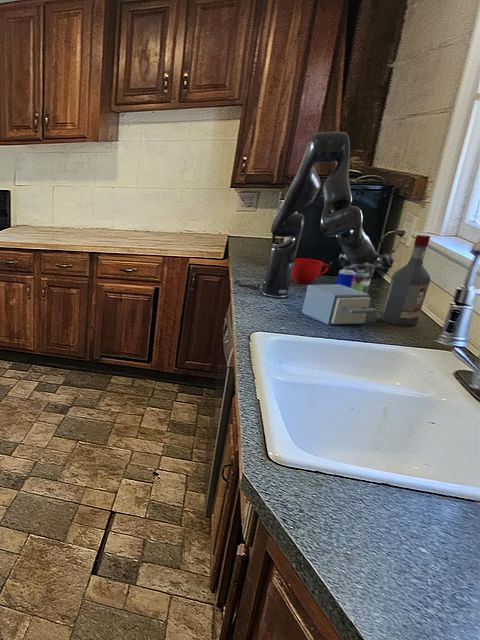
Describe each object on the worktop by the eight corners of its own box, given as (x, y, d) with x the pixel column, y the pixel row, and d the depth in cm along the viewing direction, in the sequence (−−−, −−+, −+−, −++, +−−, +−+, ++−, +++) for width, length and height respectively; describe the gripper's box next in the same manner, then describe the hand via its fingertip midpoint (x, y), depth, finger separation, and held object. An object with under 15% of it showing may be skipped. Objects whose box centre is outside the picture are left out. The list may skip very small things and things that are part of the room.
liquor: (376, 319, 188) (400, 234, 177) (392, 316, 192) (417, 233, 181) (403, 327, 181) (430, 238, 170) (419, 324, 184) (447, 237, 173)
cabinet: (361, 323, 184) (369, 294, 180) (327, 324, 183) (334, 294, 179) (333, 312, 197) (340, 284, 193) (301, 312, 196) (307, 284, 192)
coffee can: (368, 301, 212) (377, 266, 207) (338, 298, 216) (347, 264, 210) (362, 295, 221) (371, 261, 216) (334, 292, 225) (342, 259, 219)
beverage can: (347, 312, 197) (358, 272, 192) (332, 311, 198) (342, 271, 193) (342, 308, 202) (352, 269, 196) (327, 307, 203) (337, 268, 197)
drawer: (374, 327, 177) (382, 302, 174) (343, 328, 176) (349, 302, 173) (337, 311, 194) (343, 288, 191) (308, 312, 193) (313, 289, 190)
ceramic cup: (332, 286, 235) (338, 264, 231) (294, 285, 235) (299, 263, 232) (317, 279, 247) (322, 258, 243) (280, 279, 247) (285, 258, 244)
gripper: (387, 236, 161) (399, 260, 171) (336, 237, 173) (350, 259, 183) (379, 258, 161) (392, 281, 171) (328, 257, 172) (343, 279, 182)
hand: (371, 270), depth 177 cm, fingers open, 8 cm apart
